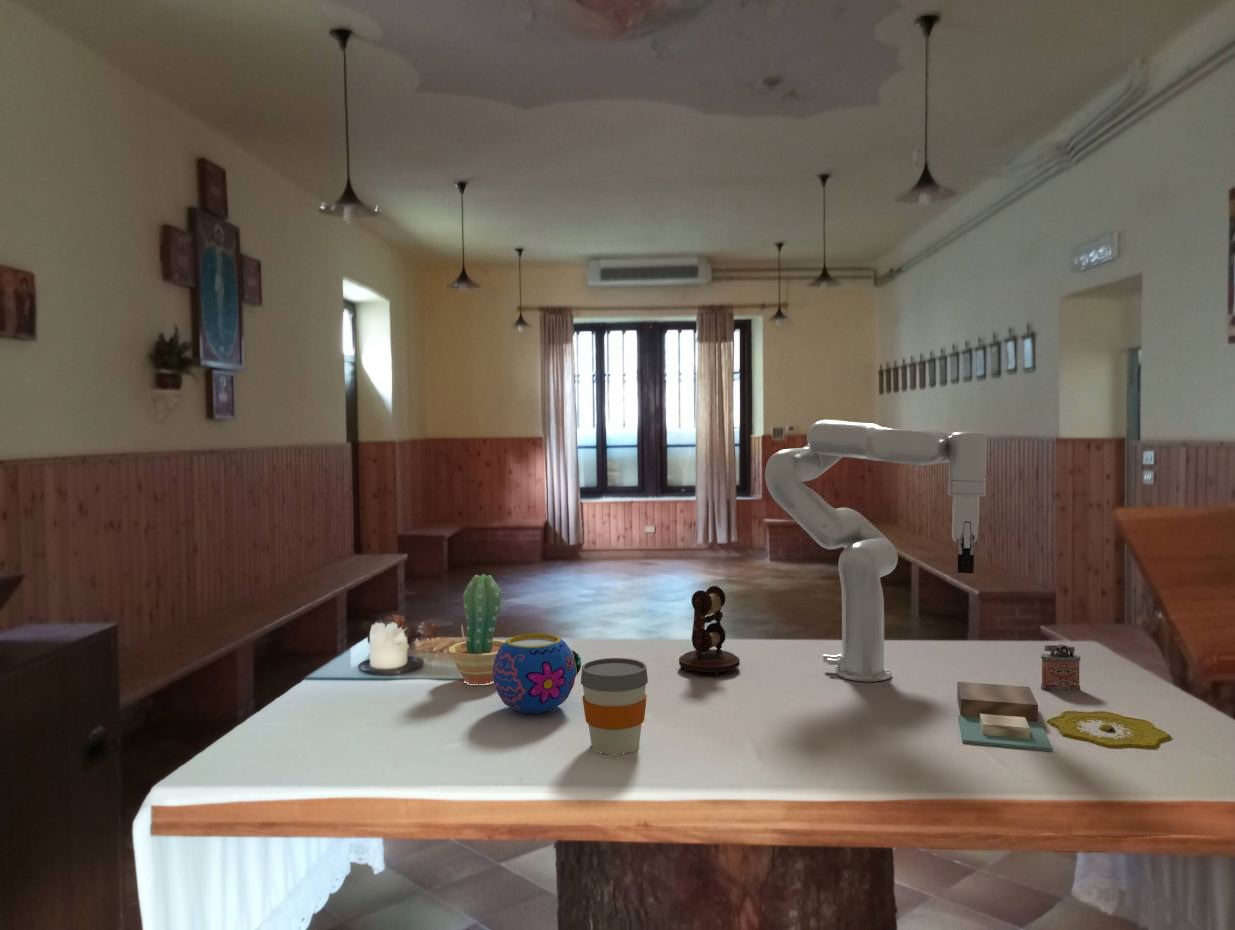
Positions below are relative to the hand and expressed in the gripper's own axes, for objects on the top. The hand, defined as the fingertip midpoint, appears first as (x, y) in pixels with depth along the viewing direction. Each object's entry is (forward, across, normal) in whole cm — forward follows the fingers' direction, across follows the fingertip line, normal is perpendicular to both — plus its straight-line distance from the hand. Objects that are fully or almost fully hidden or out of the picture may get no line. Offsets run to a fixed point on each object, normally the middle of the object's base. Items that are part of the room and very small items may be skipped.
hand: (965, 572), depth 186 cm
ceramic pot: (+28, +37, -86) cm, 98 cm away
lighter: (+27, -9, +20) cm, 35 cm away
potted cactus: (+29, +22, -107) cm, 113 cm away
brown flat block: (+26, +12, +6) cm, 29 cm away
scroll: (+28, -2, -58) cm, 64 cm away
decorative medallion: (+27, +16, +25) cm, 40 cm away
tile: (+24, +24, +6) cm, 35 cm away
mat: (+26, +24, +6) cm, 37 cm away
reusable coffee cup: (+28, +52, -62) cm, 86 cm away
